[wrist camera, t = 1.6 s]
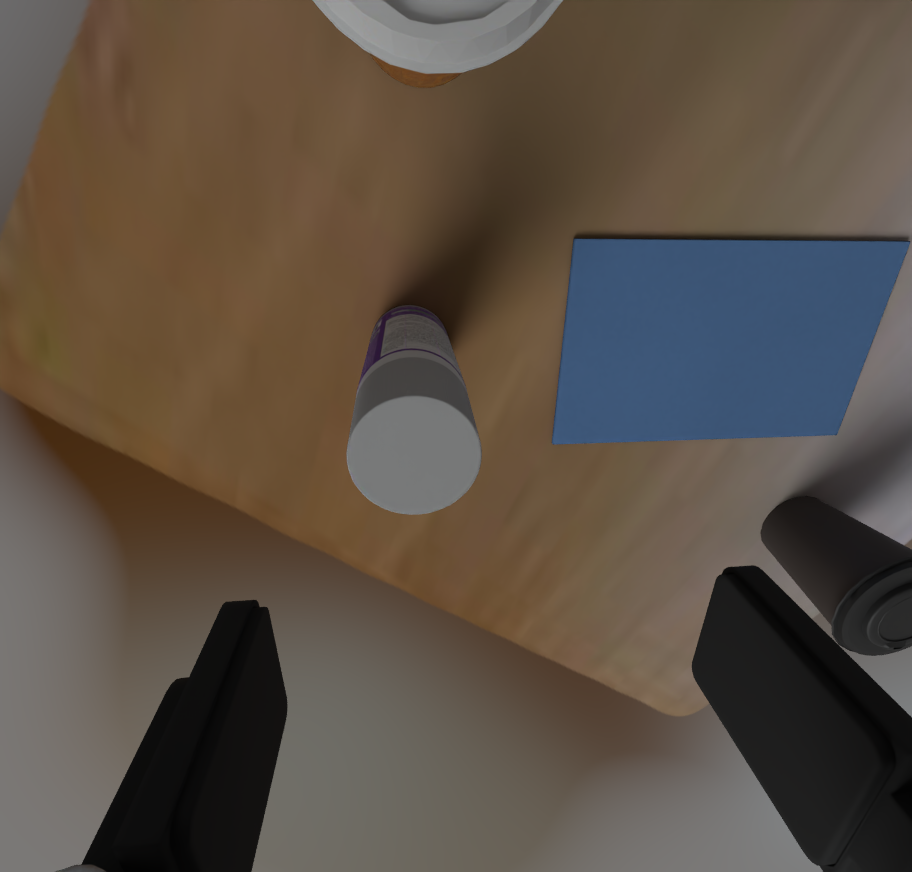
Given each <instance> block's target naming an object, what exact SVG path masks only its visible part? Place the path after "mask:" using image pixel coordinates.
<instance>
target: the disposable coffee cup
mask: <svg viewBox="0 0 912 872" xmlns="http://www.w3.org/2000/svg"><path fill="white" fill-rule="evenodd" d="M313 1H314V3H315V4H316V5H317V6H318V8H319V9H320V10H321V11H322V12H323V13H324V14H325V15H326V16H327V17H328V18H329V20H330V21H331V22H332V23H333V24H334V25H335V26H336V27H337V28H338V29H339V30H340V31H341V32H342V33H343V34H345V35H346V36H347V37H349V38H350V39H351V40H352V41H354V42H355V43H356V44H357V45H359V46H360V47H361V48H362V49H364V50H365V51H367V52H369V53H370V55H371V56H372V58H373V59H374V60H375V61H376V63H377V64H378V65H379V66H380V67H381V68H382V69H383V70H384V71H385V72H386V73H387V74H389V75H390V76H391V77H393V78H394V79H396V80H398V81H400V82H402V83H404V84H406V85H410V86H414V87H418V88H431V87H435V86H439V85H443V84H445V83H447V82H449V81H451V80H453V79H455V78H456V77H457V76H459V75H460V74H461V73H463V72H466V71H470V70H473V69H476V68H480V67H483V66H486V65H490V64H492V63H493V62H495V61H497V60H499V59H501V58H502V57H504V56H506V55H508V54H510V53H511V52H513V51H515V50H516V49H518V48H519V47H521V46H522V45H523V44H524V43H525V42H526V41H528V40H529V39H530V38H531V37H532V36H533V35H534V34H535V33H536V32H537V31H538V30H539V29H540V28H541V27H543V26H544V24H545V23H546V22H547V20H548V19H549V18H550V16H551V15H552V14H553V13H554V11H555V10H556V9H557V7H558V6H559V5H560V3H561V2H562V1H563V0H313Z"/></svg>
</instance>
